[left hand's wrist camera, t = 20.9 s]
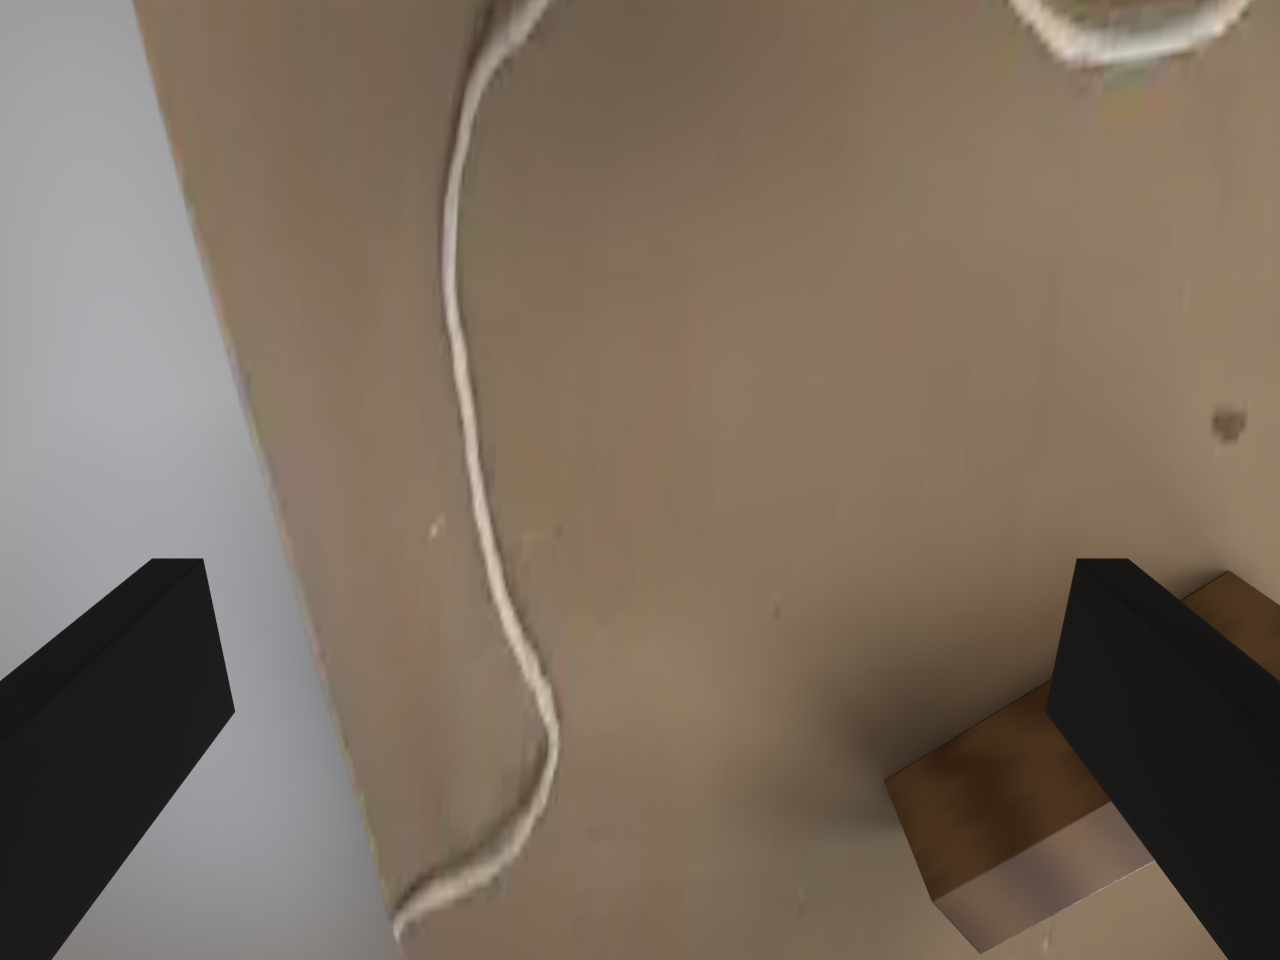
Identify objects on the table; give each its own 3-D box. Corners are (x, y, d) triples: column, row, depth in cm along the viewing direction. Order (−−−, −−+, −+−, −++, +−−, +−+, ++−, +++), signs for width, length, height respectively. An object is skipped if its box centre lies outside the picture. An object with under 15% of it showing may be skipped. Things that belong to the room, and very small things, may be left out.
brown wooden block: (1229, 570, 49) (1361, 661, 40) (1266, 628, 50) (1402, 729, 41) (883, 780, 54) (931, 902, 45) (926, 828, 55) (980, 955, 47)
